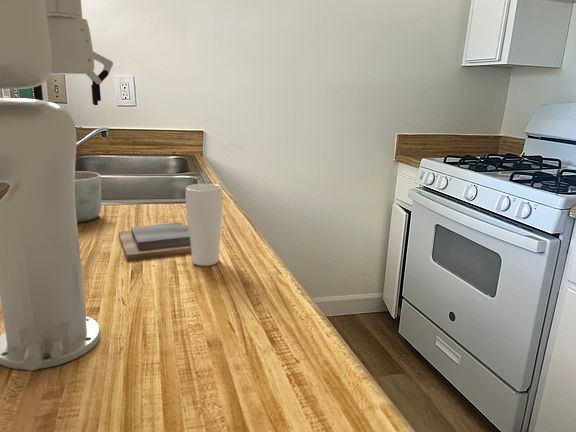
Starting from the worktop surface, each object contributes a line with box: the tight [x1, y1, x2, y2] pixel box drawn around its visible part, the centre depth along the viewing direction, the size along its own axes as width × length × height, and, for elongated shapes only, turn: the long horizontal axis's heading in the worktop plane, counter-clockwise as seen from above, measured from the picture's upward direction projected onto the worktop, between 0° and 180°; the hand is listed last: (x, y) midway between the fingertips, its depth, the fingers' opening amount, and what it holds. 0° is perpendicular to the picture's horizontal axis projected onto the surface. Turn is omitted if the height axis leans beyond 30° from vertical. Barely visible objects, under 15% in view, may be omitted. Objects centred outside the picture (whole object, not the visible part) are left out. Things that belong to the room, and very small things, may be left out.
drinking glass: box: [185, 183, 223, 267], centre depth 92 cm, size 7×7×15 cm
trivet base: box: [117, 222, 191, 262], centre depth 103 cm, size 16×16×3 cm
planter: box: [74, 170, 102, 223], centre depth 119 cm, size 12×12×11 cm
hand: (68, 104), depth 93 cm, fingers open, 9 cm apart
